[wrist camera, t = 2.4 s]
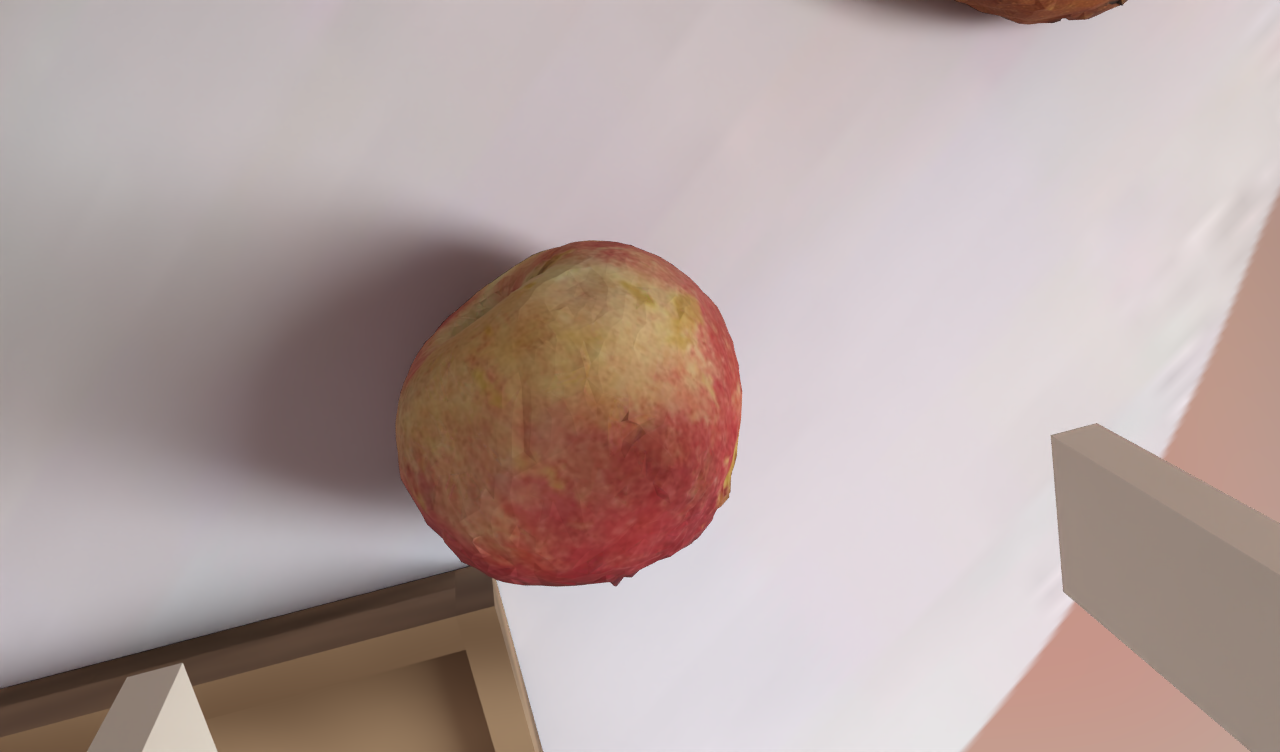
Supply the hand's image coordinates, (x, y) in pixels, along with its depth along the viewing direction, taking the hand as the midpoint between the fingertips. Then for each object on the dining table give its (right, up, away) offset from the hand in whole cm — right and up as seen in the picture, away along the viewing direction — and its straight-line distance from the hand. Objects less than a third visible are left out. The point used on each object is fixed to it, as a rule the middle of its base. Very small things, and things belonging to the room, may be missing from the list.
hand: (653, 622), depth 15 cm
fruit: (-2, +4, +12) cm, 13 cm away
